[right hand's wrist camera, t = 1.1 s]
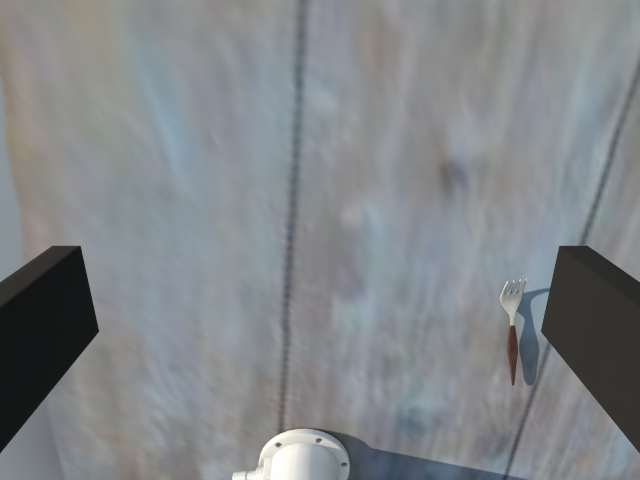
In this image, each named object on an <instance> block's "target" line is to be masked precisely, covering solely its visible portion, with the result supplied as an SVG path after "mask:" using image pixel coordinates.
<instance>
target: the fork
mask: <svg viewBox="0 0 640 480" xmlns="http://www.w3.org/2000/svg"><path fill="white" fill-rule="evenodd" d="M527 280H528V279H527V278H526V280H525V282H524V284H523V285H522V287H521V289H520V291H519V292H518V287H519V284H520V282H521V279H520V280H519V282H518V284H517V286H516V288H515V290H514V292H511V291H512V287H513V284H514V282H515V281H513V282H512V284H511V286H510V288H509V290H508V292H507V293H505V291H506V287H507V284H508V281H507V283H506V284H505V287H504V289H503V291H502V294H501V296H500V302H501V304H502V306H503V307H504V309H505V310H506V311H507V312H508V314H509V315H510V319H511V322H510V330H509V337H508V357H509V363H510V372H511V381H512V385H514V381H515V372H516V362H517V354H518V345H517V337H516V330H515V323H514V317H515V313H516V311H517V309H518V307H519V305H520V302H521V300H522V297H523V291H524V287H525V284H526V282H527Z"/></svg>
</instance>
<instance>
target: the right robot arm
mask: <svg viewBox="0 0 640 480" xmlns="http://www.w3.org/2000/svg"><path fill="white" fill-rule="evenodd" d="M98 332H99V329H98V324H97V320H96V315H95V310H94V306H93V301H92V297H91V292H90V287H89V283H88V278H87V274H86V269H85V264H84V260H83V255H82V250H81V246H52V247H50V248H49V249H47V250H46V251H45V252H43V253H42V254H40V255H39V256H37V257H36V258H35V259H33V260H32V261H30V262H29V263H27V264H26V265H24V266H23V267H22V268H20V269H19V270H17V271H16V272H14V273H13V274H12V275H10V276H9V277H7V278H6V279H4V280H3V281H2V282H0V453H1V452H2V450H3V449H4V448H5V447H6V446H7V444H8V443H9V442H10V441H11V439H12V438H13V437H14V436H15V434H16V433H17V432H18V431H19V429H20V428H21V427H22V426H23V425H24V423H25V422H26V421H27V420H28V418H29V417H30V416H31V415H32V414H33V412H34V411H35V410H36V409H37V407H38V406H39V405H40V404H41V402H42V401H43V400H44V399H45V398H46V396H47V395H48V394H49V393H50V391H51V390H52V389H53V388H54V386H55V385H56V384H57V383H58V382H59V380H60V379H61V378H62V377H63V375H64V374H65V373H66V372H67V370H68V369H69V368H70V367H71V365H72V364H73V363H74V362H75V361H76V359H77V358H78V357H79V356H80V354H81V353H82V352H83V351H84V349H85V348H86V347H87V346H88V345H89V343H90V342H91V341H92V340H93V338H94V337H95V336H96V335H97V333H98ZM541 332H542V333H543V335H544V336H545V337H546V338H547V340H548V341H549V342H550V343H551V345H552V346H553V347H554V348H555V349H556V351H557V352H558V353H559V354H560V356H561V357H562V358H563V359H564V361H565V362H566V363H567V364H568V365H569V367H570V368H571V369H572V370H573V372H574V373H575V374H576V375H577V377H578V378H579V379H580V380H581V382H582V383H583V384H584V385H585V386H586V388H587V389H588V390H589V391H590V393H591V394H592V395H593V396H594V398H595V399H596V400H597V401H598V402H599V404H600V405H601V406H602V407H603V409H604V410H605V411H606V412H607V414H608V415H609V416H610V417H611V418H612V420H613V421H614V422H615V423H616V425H617V426H618V427H619V428H620V430H621V431H622V432H623V433H624V434H625V436H626V437H627V438H628V439H629V441H630V442H631V443H632V444H633V446H634V447H635V448H636V449H637V450H638V452H639V453H640V282H638V281H637V280H636V279H634V278H633V277H631V276H630V275H628V274H627V273H626V272H624V271H623V270H621V269H620V268H618V267H617V266H616V265H614V264H613V263H611V262H610V261H608V260H607V259H605V258H604V257H603V256H601V255H600V254H598V253H597V252H595V251H594V250H593V249H591V248H590V247H588V246H559V250H558V255H557V260H556V264H555V269H554V274H553V278H552V283H551V287H550V292H549V297H548V301H547V306H546V310H545V315H544V320H543V324H542V329H541Z"/></svg>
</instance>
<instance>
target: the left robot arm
mask: <svg viewBox="0 0 640 480" xmlns="http://www.w3.org/2000/svg"><path fill="white" fill-rule="evenodd" d="M349 472H350V461H349V456H348V453H347V450H346V449H345V447H344V446H343V445H342V444H341V443H340V442H339V441H338V440H337V439H336V438H334V437H333V436H331V435H329V434H327V433H324V432H321V431H318V430H312V429H295V430H290V431H287V432H284V433H281V434H279V435H277V436H276V437H274V438H273V439H271V440H270V441H269V442H268V443H267V444H266V445H265V447H264V448H263V450H262V452H261V455H260V460H259V467H257V469H256V471H250V472H248V471H242V472H234V473H233V480H347V478H348V476H349Z"/></svg>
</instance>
